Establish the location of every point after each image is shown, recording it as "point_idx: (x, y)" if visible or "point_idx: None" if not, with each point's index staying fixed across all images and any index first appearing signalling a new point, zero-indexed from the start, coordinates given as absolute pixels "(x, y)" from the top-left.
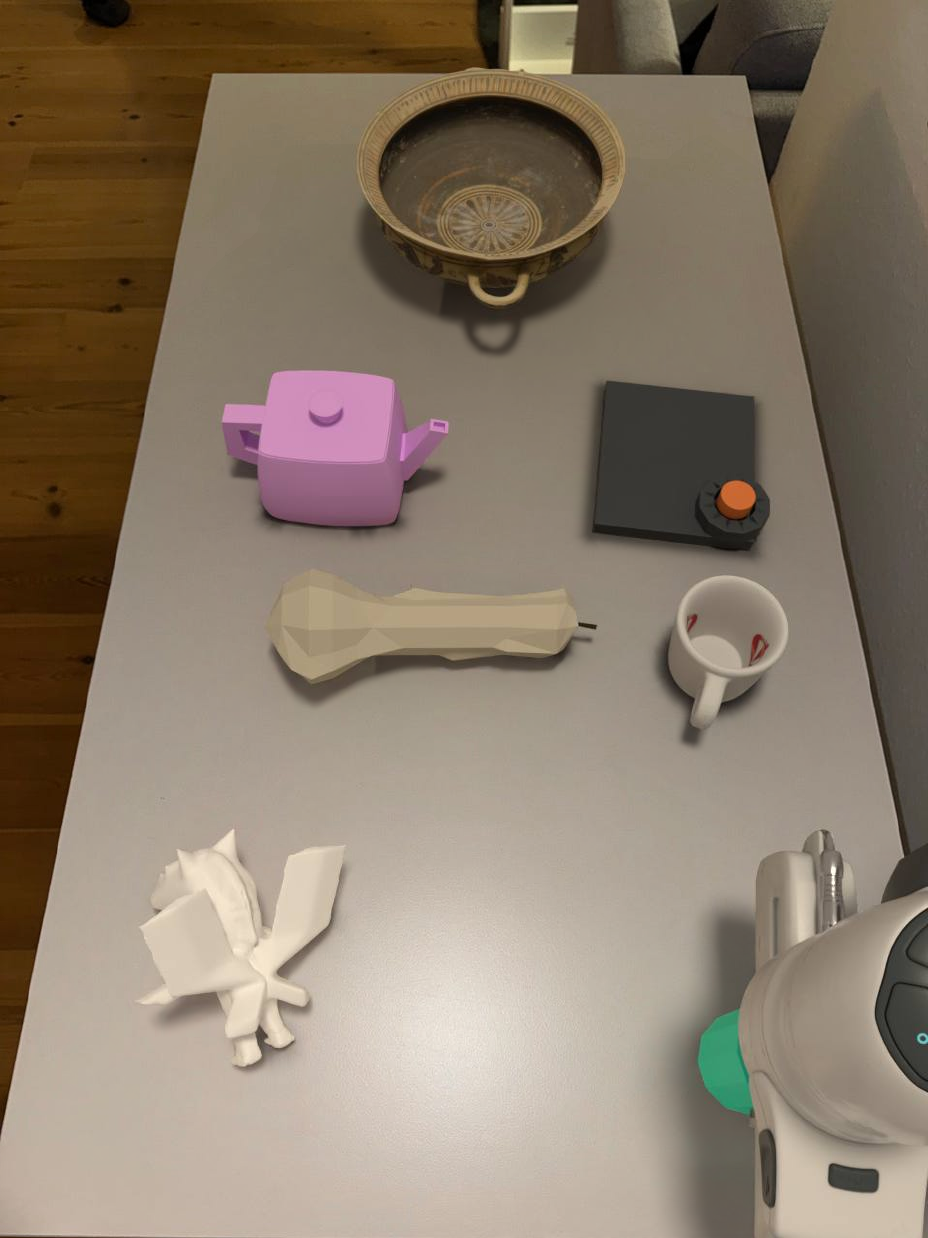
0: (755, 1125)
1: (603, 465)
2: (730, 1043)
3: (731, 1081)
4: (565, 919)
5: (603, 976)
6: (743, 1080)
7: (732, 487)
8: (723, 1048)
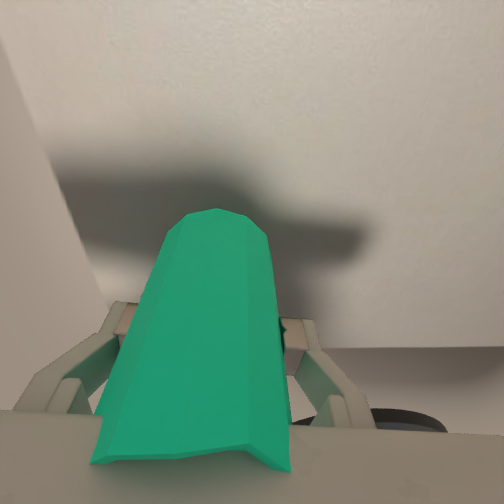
0: (27, 436)
1: None
2: (211, 371)
3: (154, 326)
4: (429, 23)
5: (332, 84)
6: (121, 425)
7: None
8: (211, 320)
